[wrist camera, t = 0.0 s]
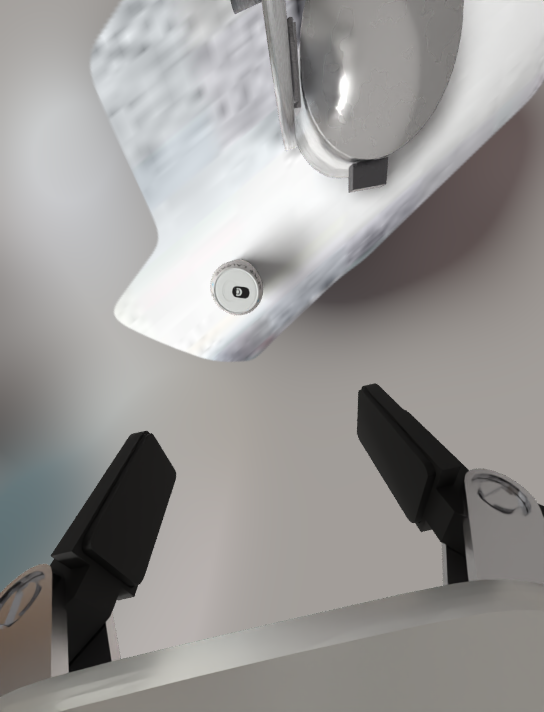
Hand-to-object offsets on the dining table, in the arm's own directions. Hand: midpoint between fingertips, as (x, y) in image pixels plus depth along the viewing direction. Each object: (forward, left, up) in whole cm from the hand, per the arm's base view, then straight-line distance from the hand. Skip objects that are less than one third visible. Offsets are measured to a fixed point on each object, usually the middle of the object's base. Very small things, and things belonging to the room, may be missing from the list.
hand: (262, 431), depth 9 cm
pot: (-23, +18, -31) cm, 43 cm away
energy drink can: (-4, -1, -31) cm, 32 cm away
